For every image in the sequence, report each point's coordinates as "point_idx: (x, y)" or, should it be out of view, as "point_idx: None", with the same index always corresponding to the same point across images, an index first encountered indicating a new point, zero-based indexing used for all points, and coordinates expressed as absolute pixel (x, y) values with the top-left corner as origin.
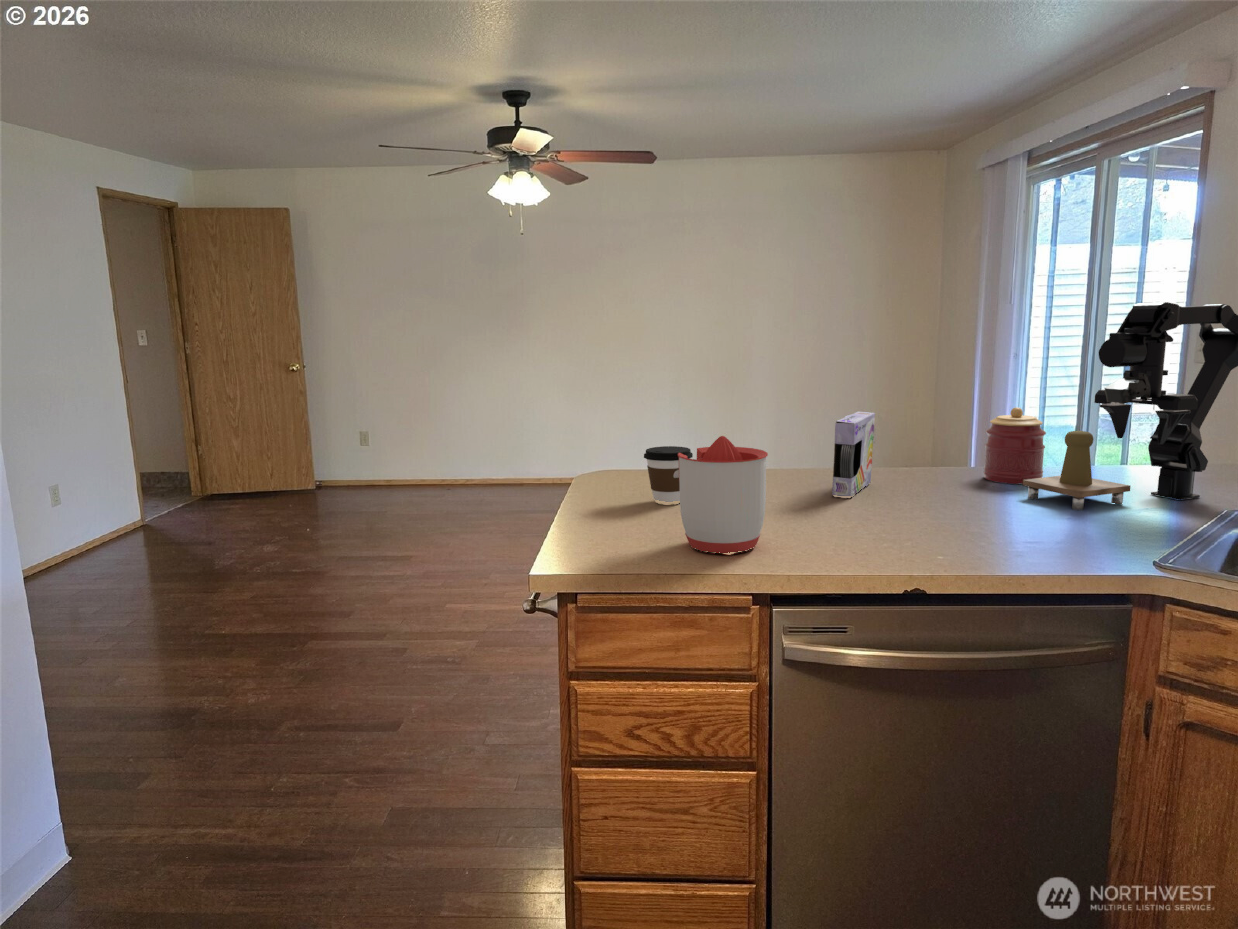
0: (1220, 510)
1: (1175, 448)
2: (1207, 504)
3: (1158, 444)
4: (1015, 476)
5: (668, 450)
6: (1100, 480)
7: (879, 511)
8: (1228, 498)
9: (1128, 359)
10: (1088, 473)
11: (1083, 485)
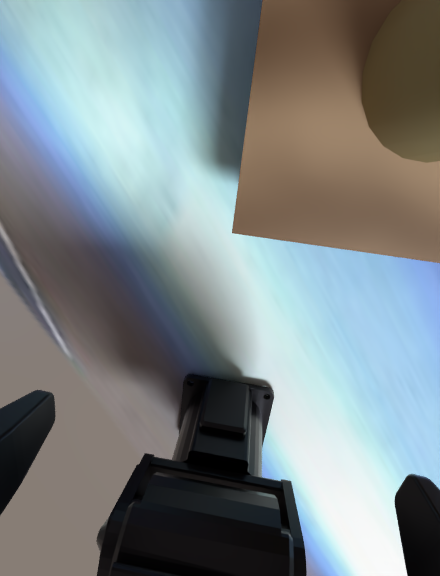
0: (69, 340)
1: (148, 524)
2: (128, 382)
3: (239, 554)
4: None
5: None
6: (375, 240)
7: None
8: None
9: None
10: (396, 56)
11: (379, 24)
